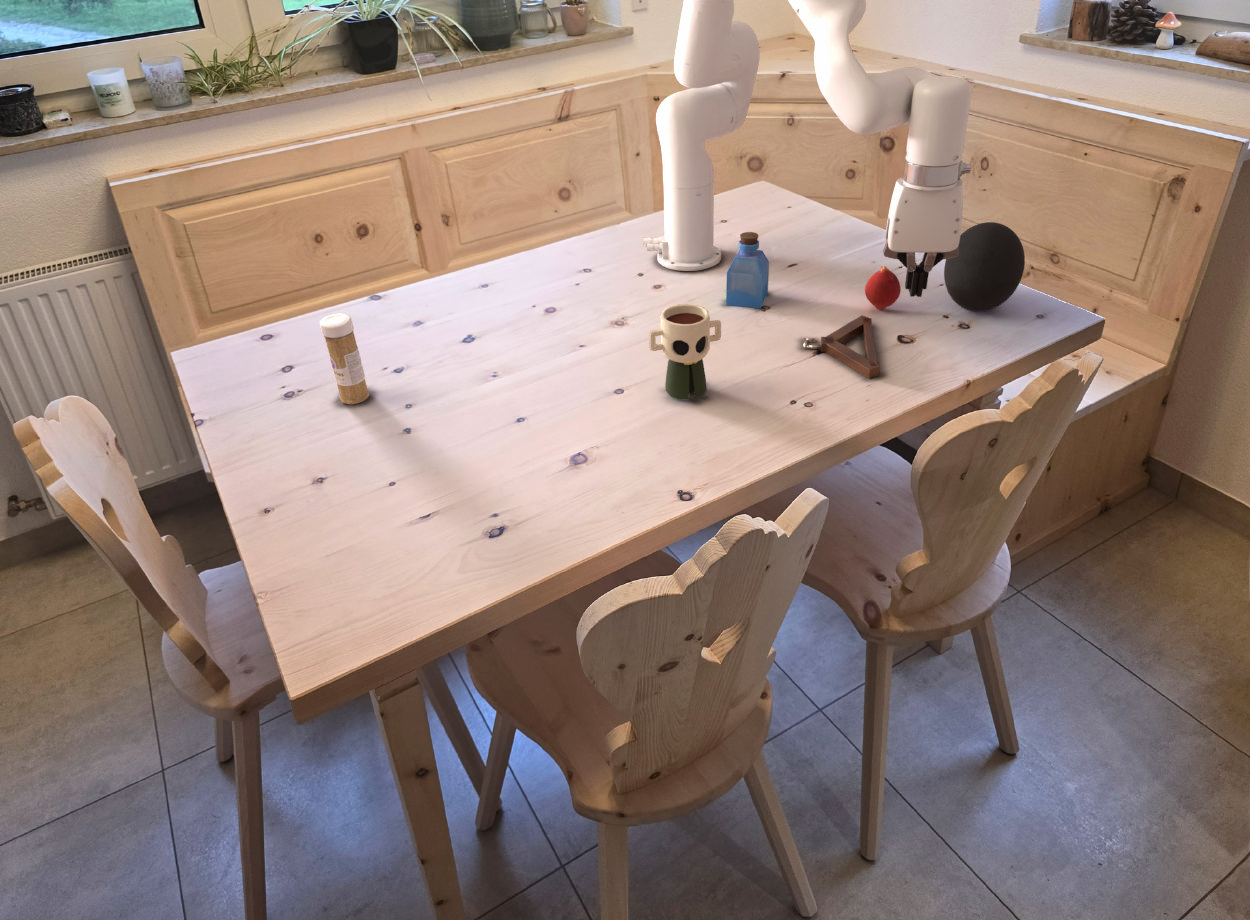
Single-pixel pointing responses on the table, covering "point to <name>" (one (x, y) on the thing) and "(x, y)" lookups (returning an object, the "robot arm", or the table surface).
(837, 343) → the hanger
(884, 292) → the onion
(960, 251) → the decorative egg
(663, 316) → the character mug
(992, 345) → the table surface
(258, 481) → the table surface
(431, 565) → the table surface
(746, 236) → the perfume bottle
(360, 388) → the sprinkles bottle
